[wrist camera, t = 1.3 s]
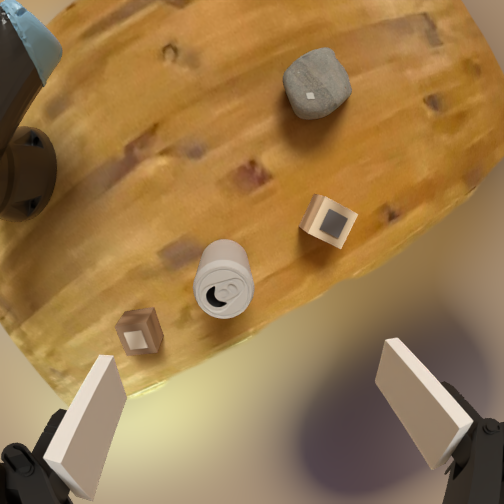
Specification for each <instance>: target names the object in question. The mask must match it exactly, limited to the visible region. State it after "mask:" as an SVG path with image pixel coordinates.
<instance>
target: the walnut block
mask: <svg viewBox="0 0 504 504" xmlns="http://www.w3.org/2000/svg"><path fill="white" fill-rule="evenodd" d="M115 329H116V331H117V334H118V336H119V338H120V341H121V343H122V346H123V348H124V350H125V353H126V355H127V356H131V355H140V354H150V353H158V350H159V347H160V344H161V341H162V339H163V336H164V335H163V332H162V329H161V326H160V323H159V321H158V318H157V315H156V312H155V309H154V307H151V308H145V309H138V310H132V311H125V312H124V314H123V315H122V317H121V318H120V320H119V321H118V323H117V324H116V326H115Z"/></svg>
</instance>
